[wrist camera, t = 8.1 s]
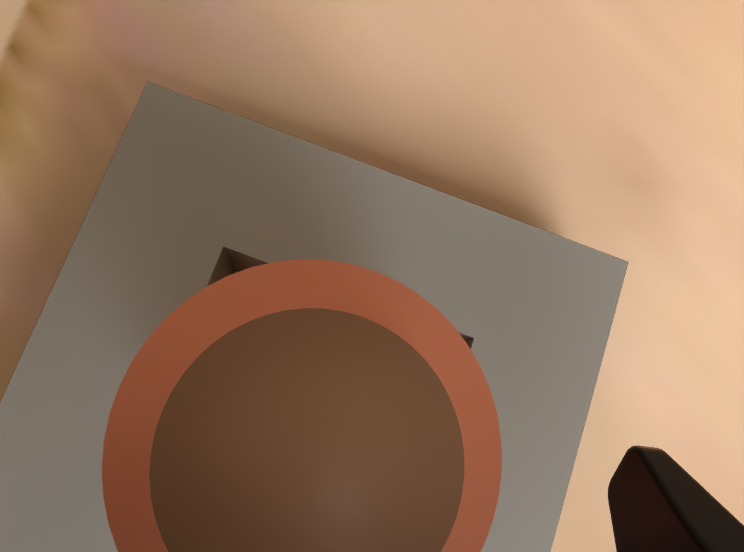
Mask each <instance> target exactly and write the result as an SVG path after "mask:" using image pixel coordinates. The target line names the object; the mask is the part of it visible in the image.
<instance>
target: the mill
mask: <svg viewBox="0 0 744 552" xmlns="http://www.w3.org/2000/svg"><path fill="white" fill-rule="evenodd" d="M501 472H502V446H501V435H500V428H499V421H498V415H497V411H496V408H495V404H494V401H493V397H492V393H491V390H490V388H489V385H488V383H487V381H486V378H485V376H484V373H483V371H482V369H481V367H480V365H479V363H478V361H477V360H476V358H475V356H474V354H473V353H472V351H471V349H470V347H469V346H468V344H467V343H466V342H465V340H464V339H463V338H462V336H461V335H460V334H459V332H458V331H457V330H456V328H455V327H454V326H453V325H452V324H451V323H450V322H449V321H448V320H447V319H446V318H445V317H444V316H443V315H442V314H441V313H440V311H439V310H438V309H437V308H435V307H434V306H433V305H432V304H430V303H429V302H428V301H427V300H425V299H424V298H423V297H422V296H420V295H419V294H418V293H416V292H415V291H413V290H411V289H410V288H408V287H406V286H405V285H403V284H401V283H400V282H398V281H396V280H394V279H392V278H390V277H387V276H385V275H383V274H380V273H378V272H376V271H373V270H370V269H367V268H363V267H360V266H357V265H353V264H349V263H343V262H337V261H331V260H317V259H296V260H286V261H276V262H272V263H267V264H263V265H259V266H254V267H251V268H248V269H245V270H242V271H240V272H237V273H234V274H231V275H229V276H227V277H225V278H223V279H221V280H219V281H217V282H215V283H213V284H211V285H209V286H207V287H205V288H204V289H202V290H201V291H199V292H198V293H196V294H195V295H194V296H192V297H191V298H189V299H188V300H186V301H185V302H183V303H182V304H181V305H180V306H179V307H178V308H177V309H175V310H174V311H173V312H172V313H171V314H170V315H169V316H168V317H167V318H165V319H164V320H163V321H162V323H161V324H160V325H159V326H158V327H157V328H156V329H155V331H154V332H153V333H152V334H151V335H150V336H149V337H148V339H147V340H146V341H145V343H144V344H143V346H142V347H141V349H140V350H139V352H138V353H137V354H136V356H135V357H134V359H133V360H132V362H131V364H130V366H129V368H128V370H127V372H126V374H125V376H124V378H123V380H122V382H121V384H120V386H119V388H118V391H117V393H116V396H115V399H114V402H113V405H112V408H111V411H110V414H109V418H108V423H107V428H106V433H105V437H104V445H103V457H102V484H103V498H104V503H105V508H106V514H107V519H108V524H109V527H110V530H111V533H112V536H113V539H114V542H115V545H116V548H117V551H118V552H481V550H482V548H483V546H484V544H485V541H486V538H487V536H488V533H489V530H490V527H491V524H492V522H493V519H494V515H495V510H496V506H497V501H498V497H499V492H500V482H501Z"/></svg>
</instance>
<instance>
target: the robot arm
mask: <svg viewBox="0 0 744 552" xmlns="http://www.w3.org/2000/svg"><path fill="white" fill-rule="evenodd" d="M608 501H609V507H610V513H611V519H612V525H613V532H614V538H615V544H616V550H617V552H744V525H743V524H741V523H740V522H739V521H738V520H737V519H736V518H735V517H734V516H733V515H732V514H731V513H730V512H729V511H728V510H727V509H726V508H724V507H723V506H722V505H721V504H720V503H719V502H718V501H717V500H716V499H715V498H714V497H713V496H712V495H711V494H710V493H708V492H707V491H706V490H705V489H704V488H703V487H702V486H701V485H700V484H699V483H698V482H697V481H696V480H695V479H694V478H693V477H691V476H690V475H689V474H688V473H687V472H686V471H685V470H684V469H683V468H682V467H681V466H680V465H679V464H678V463H677V462H676V461H674V460H673V459H672V458H671V457H670V456H669V455H668V454H667V453H666V452H665V451H663V450H661V449H659V448H654V447H645V446H632V447H631V448H629V449H628V450H627V452H626V454H625V455H624V457H623V459H622V461H621V462H620V464H619V466H618V468H617V470H616V471H615V473H614V475H613V477H612V479H611V481H610V483H609V487H608Z"/></svg>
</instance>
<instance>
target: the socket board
mask: <svg viewBox="0 0 744 552" xmlns="http://www.w3.org/2000/svg"><path fill="white" fill-rule="evenodd" d="M296 259H317V260H331V261H337V262H343V263H349V264H353V265H357V266H360V267H363V268H367V269H370V270H373V271H376V272H378V273H380V274H383V275H385V276H387V277H390V278H392V279H394V280H396V281H398V282H400V283H401V284H403V285H405V286H406V287H408V288H410V289H411V290H413V291H415V292H416V293H418V294H419V295H420V296H422V297H423V298H424V299H425V300H427V301H428V302H429V303H430V304H432V305H433V306H434V307H435V308H437V309H438V310H439V311H440V313H441V314H442V315H443V316H444V317H445V318H446V319H447V320H448V321H449V322H450V323H451V324H452V325H453V326H454V327H455V328H456V330H457V331H458V332H459V334H460V335H461V336H462V338H463V339H464V340H465V342H466V343H467V344H468V346H469V347H470V349H471V351H472V353H473V354H474V356H475V358H476V360H477V361H478V363H479V365H480V367H481V369H482V371H483V373H484V376H485V378H486V381H487V383H488V385H489V388H490V390H491V393H492V397H493V401H494V404H495V408H496V411H497V415H498V421H499V428H500V435H501V446H502V472H501V482H500V492H499V497H498V501H497V506H496V510H495V515H494V519H493V522H492V524H491V527H490V530H489V533H488V536H487V538H486V541H485V544H484V546H483V548H482V550H481V552H550V551H551V547H552V543H553V540H554V536H555V532H556V529H557V525H558V521H559V517H560V514H561V510H562V506H563V503H564V499H565V495H566V492H567V488H568V484H569V480H570V477H571V473H572V469H573V466H574V462H575V458H576V455H577V451H578V447H579V443H580V440H581V436H582V432H583V429H584V425H585V421H586V418H587V414H588V410H589V406H590V403H591V399H592V395H593V392H594V388H595V384H596V381H597V377H598V373H599V369H600V366H601V362H602V358H603V355H604V351H605V347H606V344H607V340H608V336H609V332H610V329H611V325H612V321H613V318H614V314H615V310H616V307H617V303H618V299H619V296H620V292H621V288H622V284H623V281H624V277H625V273H626V270H627V266H628V262H627V261H625V260H622V259H619V258H617V257H614V256H611V255H609V254H606V253H603V252H601V251H598V250H595V249H593V248H590V247H587V246H585V245H582V244H579V243H577V242H574V241H571V240H569V239H566V238H563V237H561V236H558V235H555V234H553V233H550V232H547V231H545V230H542V229H539V228H537V227H534V226H531V225H529V224H526V223H524V222H521V221H518V220H516V219H513V218H510V217H508V216H505V215H502V214H500V213H497V212H494V211H492V210H489V209H486V208H484V207H481V206H478V205H476V204H473V203H470V202H468V201H465V200H462V199H460V198H457V197H454V196H452V195H449V194H446V193H444V192H441V191H438V190H436V189H433V188H430V187H428V186H425V185H422V184H420V183H417V182H414V181H412V180H409V179H406V178H404V177H401V176H398V175H396V174H393V173H390V172H388V171H385V170H382V169H380V168H377V167H374V166H372V165H369V164H366V163H364V162H361V161H358V160H356V159H353V158H350V157H348V156H345V155H342V154H340V153H337V152H334V151H332V150H329V149H326V148H324V147H321V146H318V145H316V144H313V143H310V142H308V141H305V140H303V139H300V138H297V137H295V136H292V135H289V134H287V133H284V132H281V131H279V130H276V129H273V128H271V127H268V126H265V125H263V124H260V123H257V122H255V121H252V120H249V119H247V118H244V117H241V116H239V115H236V114H233V113H231V112H228V111H225V110H223V109H220V108H217V107H215V106H212V105H209V104H207V103H204V102H201V101H199V100H196V99H193V98H191V97H188V96H185V95H183V94H180V93H177V92H175V91H172V90H169V89H167V88H164V87H161V86H159V85H156V84H153V83H151V82H147V84H146V86H145V88H144V91H143V93H142V95H141V97H140V99H139V101H138V104H137V106H136V108H135V110H134V112H133V114H132V117H131V119H130V121H129V123H128V125H127V128H126V130H125V132H124V134H123V136H122V138H121V141H120V143H119V145H118V147H117V149H116V151H115V154H114V156H113V158H112V160H111V162H110V165H109V167H108V169H107V171H106V173H105V175H104V178H103V180H102V182H101V184H100V186H99V188H98V191H97V193H96V195H95V197H94V199H93V201H92V204H91V206H90V208H89V210H88V212H87V215H86V217H85V219H84V221H83V223H82V225H81V228H80V230H79V232H78V234H77V236H76V238H75V241H74V243H73V245H72V247H71V249H70V252H69V254H68V256H67V258H66V260H65V262H64V265H63V267H62V269H61V271H60V273H59V275H58V278H57V280H56V282H55V284H54V286H53V289H52V291H51V293H50V295H49V297H48V299H47V302H46V304H45V306H44V308H43V310H42V312H41V315H40V317H39V319H38V321H37V323H36V325H35V328H34V330H33V332H32V334H31V336H30V339H29V341H28V343H27V345H26V347H25V349H24V352H23V354H22V356H21V358H20V360H19V362H18V365H17V367H16V369H15V371H14V373H13V376H12V378H11V380H10V382H9V384H8V386H7V389H6V391H5V393H4V395H3V397H2V399H1V402H0V552H118V551H117V548H116V545H115V542H114V539H113V536H112V533H111V530H110V527H109V524H108V519H107V514H106V508H105V503H104V498H103V484H102V457H103V445H104V437H105V433H106V428H107V423H108V418H109V414H110V411H111V408H112V405H113V402H114V399H115V396H116V393H117V391H118V388H119V386H120V384H121V382H122V380H123V378H124V376H125V374H126V372H127V370H128V368H129V366H130V364H131V362H132V360H133V359H134V357H135V356H136V354H137V353H138V352H139V350H140V349H141V347H142V346H143V344H144V343H145V341H146V340H147V339H148V337H149V336H150V335H151V334H152V333H153V332H154V331H155V329H156V328H157V327H158V326H159V325H160V324H161V323H162V321H163V320H164V319H165V318H167V317H168V316H169V315H170V314H171V313H172V312H173V311H174V310H175V309H177V308H178V307H179V306H180V305H181V304H182V303H183V302H185V301H186V300H188V299H189V298H191V297H192V296H194V295H195V294H196V293H198V292H199V291H201V290H202V289H204V288H205V287H207V286H209V285H211V284H213V283H215V282H217V281H219V280H221V279H223V278H225V277H227V276H229V275H231V274H234V272H235V271H237V272H240V271H242V270H245V269H248V268H251V267H254V266H259V265H263V264H267V263H272V262H276V261H286V260H296Z"/></svg>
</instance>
